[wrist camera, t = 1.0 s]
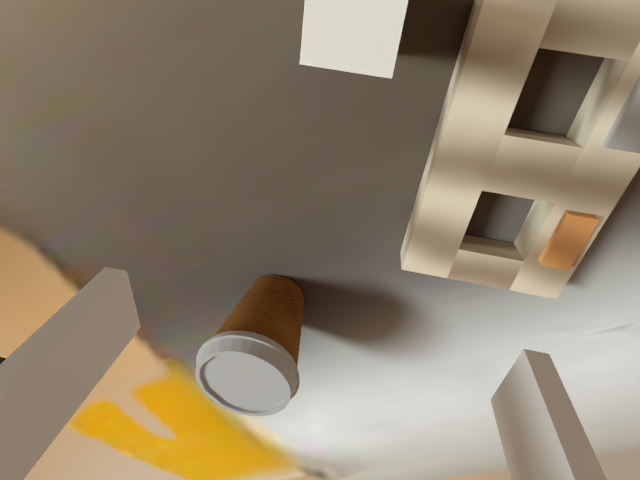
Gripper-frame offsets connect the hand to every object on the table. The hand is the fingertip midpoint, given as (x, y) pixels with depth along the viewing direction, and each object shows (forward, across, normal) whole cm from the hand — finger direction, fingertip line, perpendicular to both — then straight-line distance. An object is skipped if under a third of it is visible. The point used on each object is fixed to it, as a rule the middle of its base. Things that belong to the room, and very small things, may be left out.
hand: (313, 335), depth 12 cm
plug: (+22, -1, +8) cm, 24 cm away
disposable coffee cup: (+22, -6, -19) cm, 30 cm away
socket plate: (+22, +13, 0) cm, 26 cm away
